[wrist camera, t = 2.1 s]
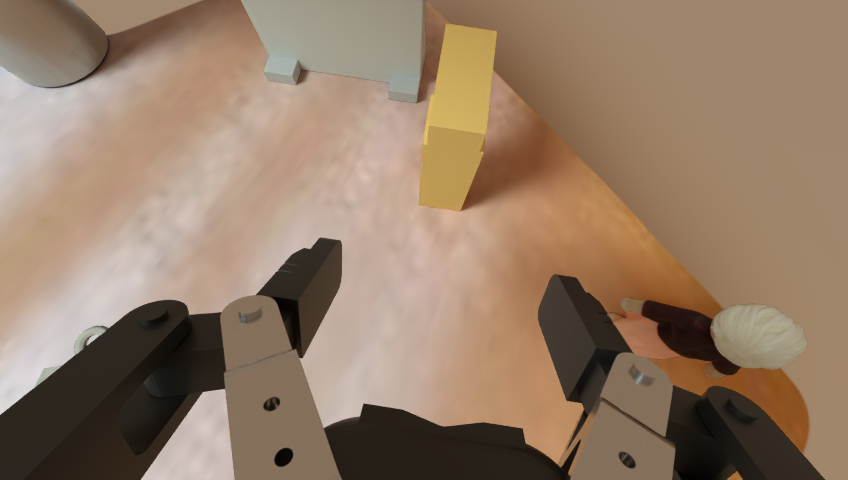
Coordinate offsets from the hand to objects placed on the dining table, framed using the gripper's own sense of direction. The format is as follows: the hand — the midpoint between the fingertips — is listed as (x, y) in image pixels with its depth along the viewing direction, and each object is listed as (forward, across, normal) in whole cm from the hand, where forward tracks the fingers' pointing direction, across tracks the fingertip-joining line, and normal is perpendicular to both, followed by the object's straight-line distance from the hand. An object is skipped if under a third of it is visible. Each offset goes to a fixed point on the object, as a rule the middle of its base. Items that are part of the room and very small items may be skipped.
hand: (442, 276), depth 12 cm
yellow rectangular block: (+21, 0, +2) cm, 21 cm away
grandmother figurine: (+12, -17, +11) cm, 23 cm away
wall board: (+28, +12, -6) cm, 31 cm away
